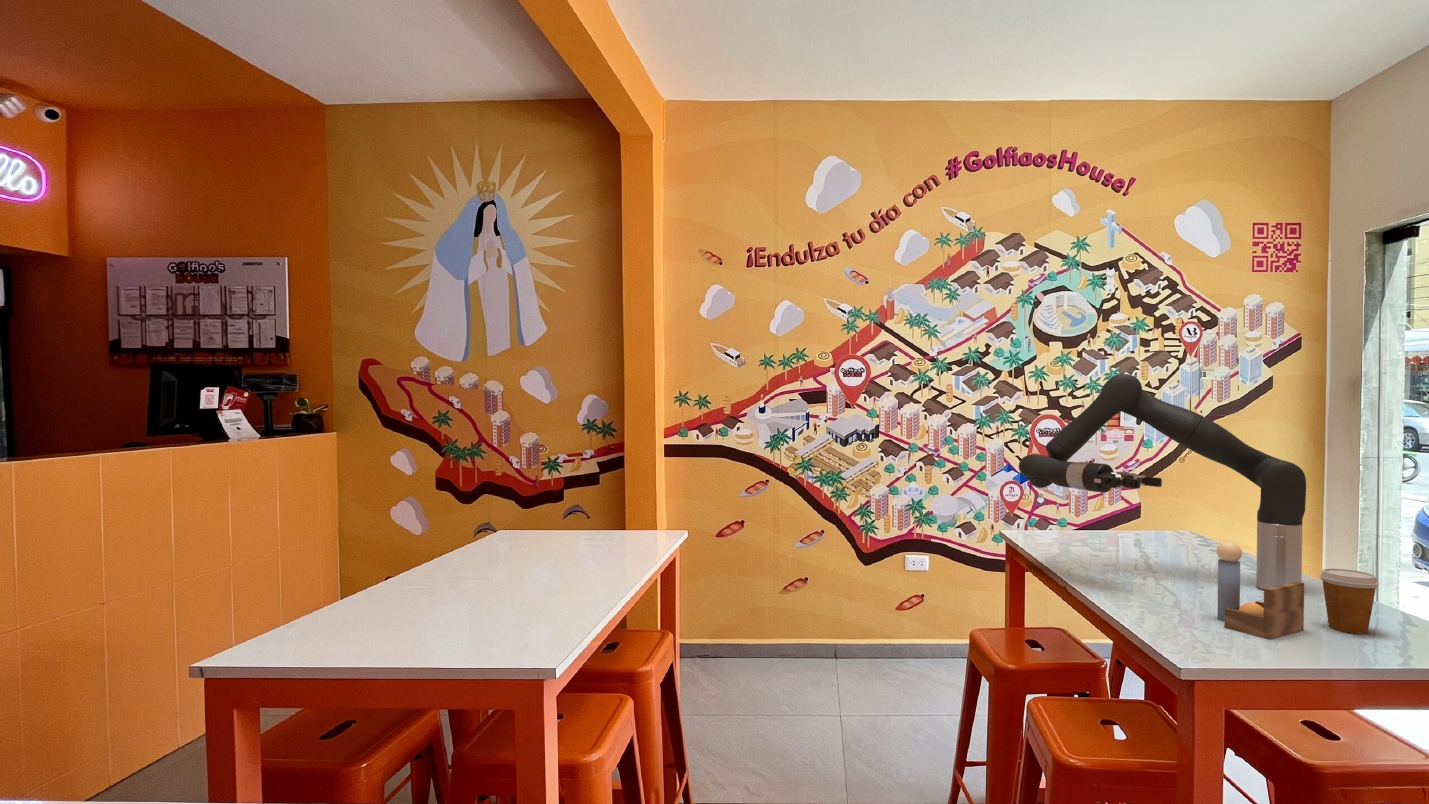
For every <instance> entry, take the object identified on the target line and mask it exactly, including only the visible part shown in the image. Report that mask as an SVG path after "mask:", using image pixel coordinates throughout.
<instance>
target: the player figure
mask: <svg viewBox="0 0 1429 804" xmlns="http://www.w3.org/2000/svg"><path fill="white" fill-rule="evenodd" d="M1216 555H1217V557H1218V558H1219V559H1218V560H1217V617H1216V618H1217V620H1219V621H1222V622H1224V613H1225V608H1230V609H1234V610H1239V608H1240V607H1241V603H1240V601H1241V562H1240V560H1241V558H1242V557H1243V550H1242V548H1241V546H1239V545H1238V544H1237V543H1235V542H1233V541H1229V540H1227V541H1223V542H1220V543H1219V544H1218V546H1217V547H1216Z"/></svg>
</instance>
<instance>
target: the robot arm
mask: <svg viewBox="0 0 1429 804" xmlns="http://www.w3.org/2000/svg"><path fill="white" fill-rule="evenodd" d="M1121 412H1122V413H1123V414H1127V415H1129V416H1131V417H1133V418H1135V419H1137V420H1140V421H1142V422H1144V423H1146V424H1148V426H1150V427H1152V428H1154V429H1155V430H1156V431H1158V432H1159V433H1161V434H1163V435H1164V436H1165V437H1167V438H1169V439H1171V440H1173V441H1174V442H1176V443H1178V444H1180V445H1181V446H1183V447H1184V448H1187V449H1188V450H1189V451H1192V452H1194V453H1196V454H1197V455H1200V456H1202V457H1204V458H1206V459H1208V460H1211V461H1213V462H1216V463H1218V464H1220V465H1223V466H1225V467H1227V468H1230V469H1232V470H1234V471H1235V472H1237V473H1238V474H1239V475H1241V476H1243V477H1245V478H1246V479H1247V480H1248V481H1250V482H1252V483H1253V484H1254V485H1256V486H1257V487H1259V488H1260V501H1259V507H1258V509H1257V512H1256V513H1257V514H1256V572H1255V573H1256V577H1255V578H1256V579H1255V582H1256V584H1255V586H1256V588H1258V589H1261V590H1264V589H1265V588H1270V587H1275V586H1280V585H1284V584H1289V583H1294V582H1302V580H1303V579H1302V578H1303V518H1304V515H1305V513H1306V502H1307V501H1306V500H1307V499H1306V498H1307V478H1306V475H1305V472H1304V470H1303V469H1302V468H1301V467H1300V466H1298V465H1297V464H1296V463H1294V462H1290V461H1288V460H1284V459H1280V458H1277V457H1274V456H1273V455H1270V454H1267V453H1265V452H1264V451H1260V450H1258V449H1256V448H1254V447H1252V446H1250V445H1248V444H1246V443H1245V442H1244V441H1242V440H1241V439H1240V438H1239V437H1237V436H1236V435H1235V434H1233V433H1232V432H1231V431H1229V430H1227V429H1226V428H1224V427H1223V426H1221V425H1219V424H1218V423H1216V422H1214V421H1212V420H1211V419H1209V418H1207V417H1205V416H1203V415H1201V414H1199V413H1197V412H1194V411H1193V410H1189V409H1187V408H1184V407H1181V406H1179V405H1175V404H1172V403H1169V402H1166V401H1163V400H1161V399H1159V398H1157V397H1156V396H1154V395H1152V394H1150V393H1149V392H1147V391H1145V390H1144V389H1143V385H1142V383H1141V381H1140V380H1139V378H1138V377H1136V376H1134V375H1132V374H1128V373H1121V374H1116V375H1113V376H1111V377H1110V378H1109V379H1108V380H1107V381H1106V382H1105V383H1104V384H1103V386H1102V388H1101V391H1100V393H1099V394H1098V395H1097V397H1096V398H1095V399H1094V400H1093V401H1092V403H1090V404H1089V406H1087V407H1086V408H1085V409H1084V411H1082V412H1081V413H1080V414H1079V415H1077V416H1076V417H1075V418H1074V419H1073V420H1071V421H1070V422H1069V423H1068V424H1067V425H1066V426H1064V427H1063V428H1062V429H1061V430H1059V431H1058V433H1057V434H1056V435H1054V436H1053V437H1052V438H1051V439H1050V440H1049V441H1048V442H1047V444H1046V445H1045V450H1046V451H1047V454H1048V455H1043V454H1039V453H1031V454H1028V455H1027V454H1026V455H1025V456H1024V457H1022V458H1021V459H1020V461H1018V462H1019V463H1018V470H1019V472H1020V473H1021V475H1022V476H1024V478H1025V479H1026V480H1027V481H1029V482H1030V484H1032V486H1034V487H1035V488H1039V489H1042V488H1048V487H1049V486H1050V485H1052V484H1054V485H1056V486H1058V487H1062V488H1063V487H1064V488H1070V489H1075V490H1080V491H1088V492H1093V493H1102V494H1106V493H1108V492H1110V490H1112V489H1123V488H1129V489H1137V490H1138V489H1140V488H1141V486H1143V487H1146V486H1147V487H1155V488H1156V487H1157V488H1161V487H1162V483H1163V481H1162V477H1155V476H1154V477H1153V476H1150V475H1149V474H1139V473H1138V474H1136V473H1135V472H1134V473H1133V472H1123V471H1114V469H1113V467H1111V466H1110V465H1109V464H1107V463H1099V462H1098V463H1097V462H1086V461H1078V462H1077V461H1076V462H1075V461H1069V460H1070V459H1071V458H1072V457H1074V455H1075V454H1076V453H1078V451H1079V450H1081V449H1082V448H1083V447H1084V446H1085V445H1086V444H1087V443H1088V441H1090V439H1092V437H1093V436H1094V435H1096V433H1097V432H1098V431H1099V430H1100V429H1102V427H1104V426H1105V424H1106V423H1108V422H1109V421H1111V419H1113V418H1114V417H1115V416H1116V415H1118V414H1119V413H1121ZM1302 583H1303V582H1302Z"/></svg>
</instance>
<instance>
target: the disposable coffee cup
mask: <svg viewBox="0 0 1429 804" xmlns="http://www.w3.org/2000/svg"><path fill="white" fill-rule="evenodd" d="M1319 577H1320V579H1321V581H1322V584H1323V585H1322V588H1323V595H1324V601H1325V608H1326V617H1327V623H1328V627H1329V628H1330V629H1333V630H1335V631H1338V632H1343V633H1347V632H1350V633H1349V634H1354V633H1356V635H1365V634H1368V633H1369V627H1370V622H1371V616H1372V611H1373V606H1374V599H1375V596H1376V591H1377V588H1378V586H1379V584H1380V582H1379V581H1378V579H1377V577H1376V575H1375V574H1373V573H1369V572H1365V571H1359V570H1355V569H1354V570H1353V569H1347V568H1346V569H1345V568H1335V567H1334V568H1332V567H1330V568H1323V569H1322V570H1321V574H1319Z"/></svg>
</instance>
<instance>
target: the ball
mask: <svg viewBox="0 0 1429 804" xmlns="http://www.w3.org/2000/svg"><path fill="white" fill-rule="evenodd" d="M1239 611H1243V612H1247V613H1251V614H1255V615H1259V616H1264V608H1263V607H1262V606H1260V605H1258V604H1256V603H1255V602H1245V603H1243V604H1241V605H1240V608H1239Z"/></svg>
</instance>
